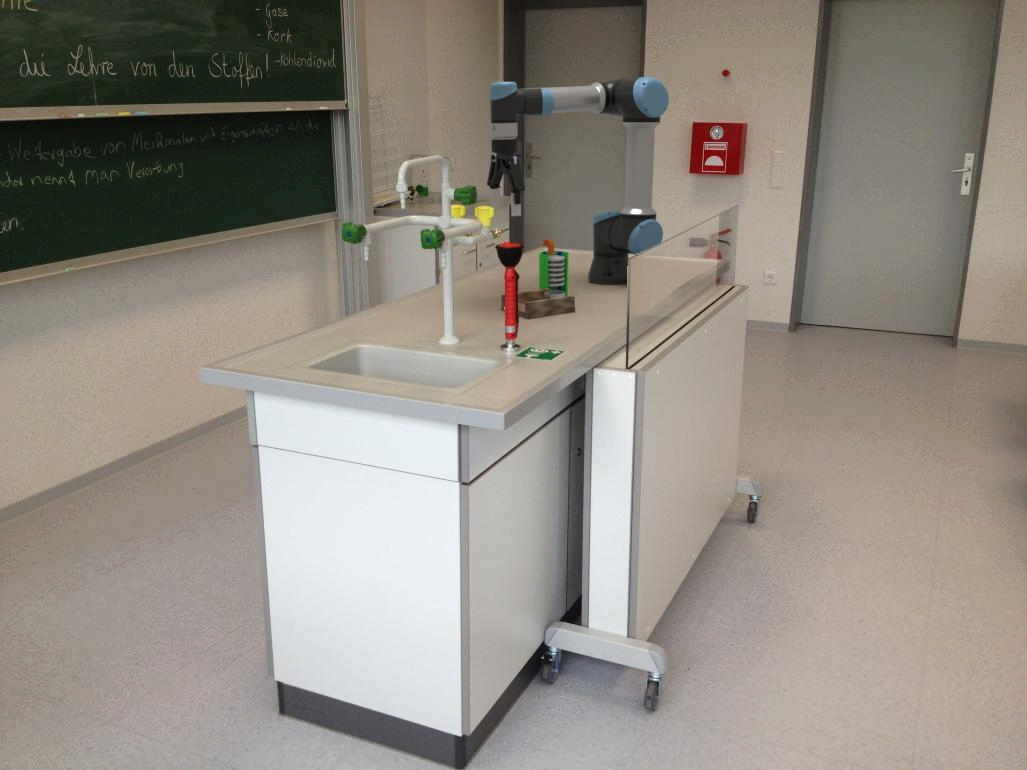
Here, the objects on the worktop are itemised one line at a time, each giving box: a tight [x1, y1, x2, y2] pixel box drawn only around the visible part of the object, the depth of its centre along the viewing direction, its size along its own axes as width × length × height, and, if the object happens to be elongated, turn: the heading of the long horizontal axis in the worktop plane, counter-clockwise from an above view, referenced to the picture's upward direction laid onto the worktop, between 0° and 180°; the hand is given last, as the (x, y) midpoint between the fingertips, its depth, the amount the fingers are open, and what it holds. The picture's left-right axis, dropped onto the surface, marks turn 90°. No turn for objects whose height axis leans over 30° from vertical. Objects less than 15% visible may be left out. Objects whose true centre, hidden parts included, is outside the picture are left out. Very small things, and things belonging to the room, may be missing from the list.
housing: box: [500, 288, 576, 320], centre depth 282 cm, size 16×15×4 cm
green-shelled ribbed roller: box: [538, 238, 569, 299], centre depth 297 cm, size 9×8×18 cm
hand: (506, 213), depth 283 cm, fingers open, 13 cm apart
